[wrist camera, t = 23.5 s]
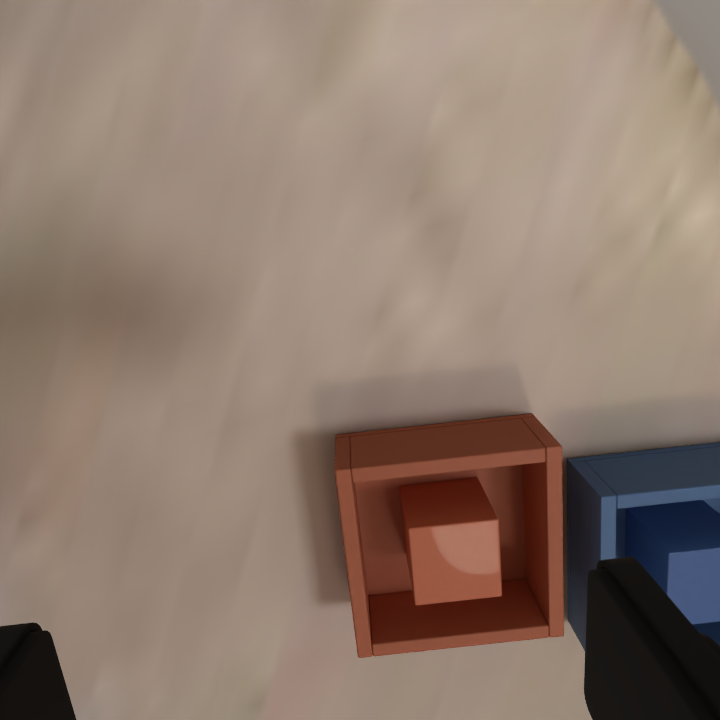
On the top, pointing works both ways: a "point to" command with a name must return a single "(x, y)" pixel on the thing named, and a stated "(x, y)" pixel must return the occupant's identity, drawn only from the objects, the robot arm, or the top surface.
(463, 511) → the terracotta block
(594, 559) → the blue bin
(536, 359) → the top surface
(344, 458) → the terracotta bin
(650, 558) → the blue block
